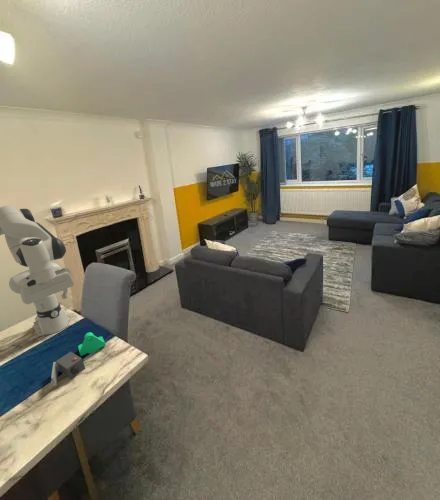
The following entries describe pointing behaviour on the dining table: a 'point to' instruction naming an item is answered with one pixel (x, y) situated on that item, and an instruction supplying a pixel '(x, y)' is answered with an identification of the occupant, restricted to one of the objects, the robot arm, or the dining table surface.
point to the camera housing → (70, 365)
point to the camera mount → (91, 344)
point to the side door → (54, 374)
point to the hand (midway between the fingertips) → (53, 303)
